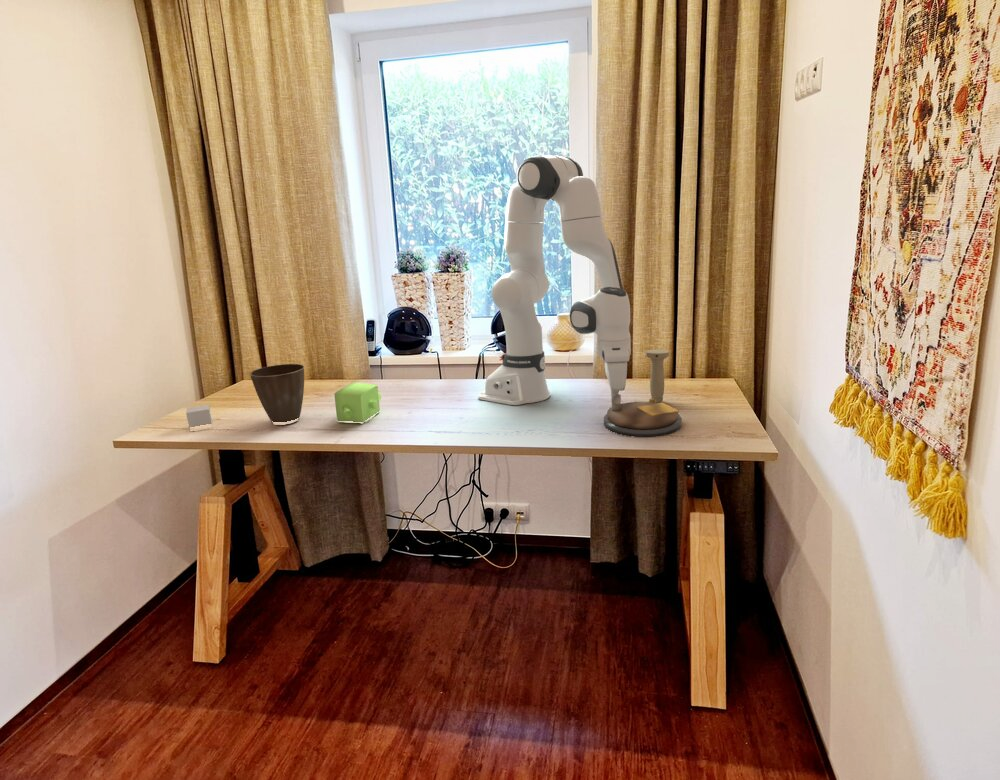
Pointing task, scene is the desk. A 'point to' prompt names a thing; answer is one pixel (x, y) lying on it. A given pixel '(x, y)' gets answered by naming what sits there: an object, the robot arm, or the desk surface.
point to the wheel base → (643, 432)
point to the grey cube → (199, 415)
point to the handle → (657, 373)
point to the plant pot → (280, 390)
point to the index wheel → (641, 414)
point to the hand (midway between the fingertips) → (614, 397)
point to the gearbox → (357, 402)
